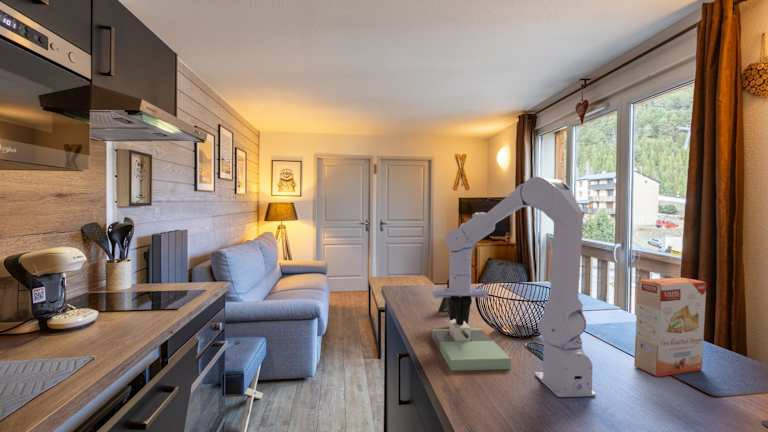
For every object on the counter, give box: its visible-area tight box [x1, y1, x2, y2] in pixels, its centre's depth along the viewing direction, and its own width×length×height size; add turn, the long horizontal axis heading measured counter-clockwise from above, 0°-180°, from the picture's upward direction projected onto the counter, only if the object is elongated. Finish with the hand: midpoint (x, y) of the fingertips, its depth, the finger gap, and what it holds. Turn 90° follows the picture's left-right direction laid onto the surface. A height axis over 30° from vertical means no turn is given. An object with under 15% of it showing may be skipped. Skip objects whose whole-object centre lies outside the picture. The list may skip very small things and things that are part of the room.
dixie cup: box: [448, 298, 471, 325], centre depth 108 cm, size 8×8×11 cm
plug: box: [448, 319, 471, 342], centre depth 92 cm, size 10×4×6 cm, turn 4°
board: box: [432, 327, 512, 372], centre depth 90 cm, size 20×14×2 cm
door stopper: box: [438, 279, 449, 314], centre depth 125 cm, size 9×6×12 cm, turn 57°
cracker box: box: [633, 277, 707, 378], centre depth 81 cm, size 14×6×21 cm, turn 105°
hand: (459, 324), depth 94 cm, fingers closed, pressing on plug
